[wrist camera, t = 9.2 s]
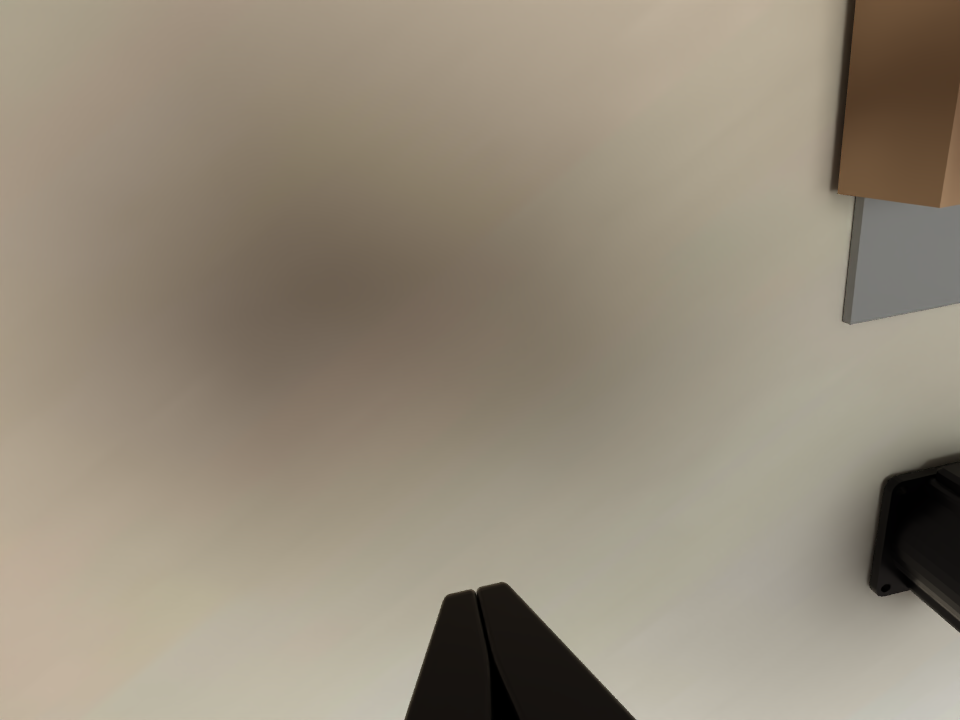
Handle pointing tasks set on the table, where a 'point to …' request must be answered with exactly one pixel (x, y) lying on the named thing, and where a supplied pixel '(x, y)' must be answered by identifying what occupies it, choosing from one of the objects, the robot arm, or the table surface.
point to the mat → (901, 259)
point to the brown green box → (903, 103)
